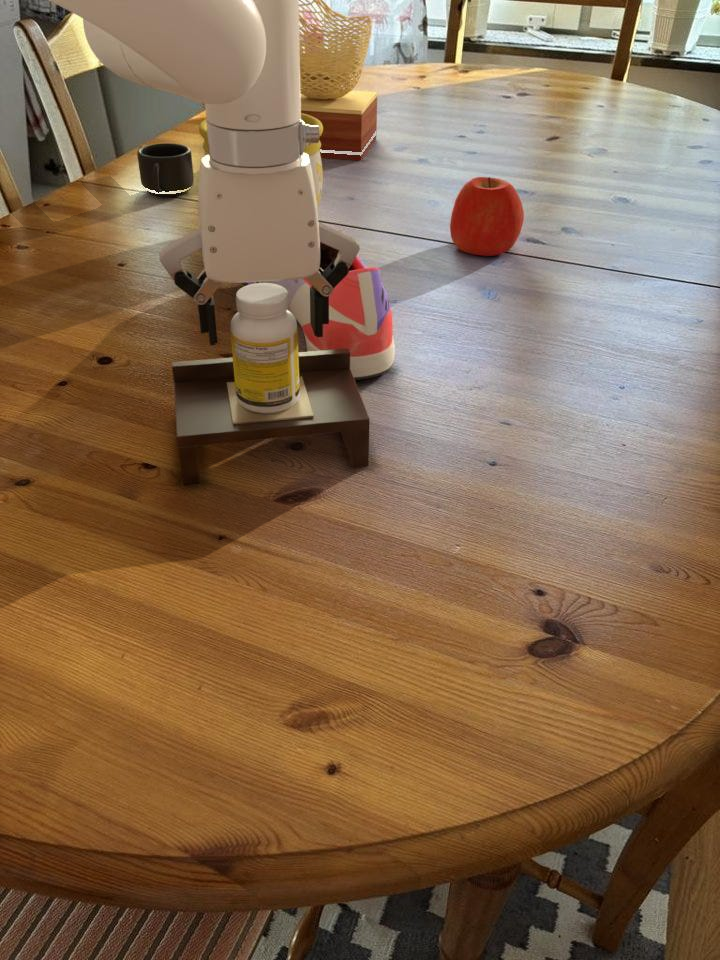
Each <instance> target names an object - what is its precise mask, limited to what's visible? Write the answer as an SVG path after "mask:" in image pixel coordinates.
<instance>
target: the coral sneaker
mask: <svg viewBox="0 0 720 960" xmlns="http://www.w3.org/2000/svg"><path fill="white" fill-rule="evenodd" d="M338 253H339V250H337V249H334V248H332V247H330V246H328V245H326V244H323V243H321V242H320V268H321V269H322V270H323V271H324V270H325V269H326V268H327V267H328V266H329V265H330V264H331V263H332V262H333V261H334V260H335V259H336V258H337V255H338ZM256 283H272V284H277V285H280V286H282V287H284V288H285V289H286V290H287V292H288V302H289V304H288V309H287V310H288V311H290V312H291V313H292V314H293V315H294V317H295V319H296V321H297V323H299V325H300V327H301V329H302V330H303V333H304V338H305V343H306V350H307V352H308V351H321V350H334V349H347V348H348V349H349V351H350V370H351V372H352V375H353V377H354V380H355V381H356V380H365V379H366V380H367V379H371V378H375V377H378V376H381V375H384V374H385V373H386V374H387V373H388V372H390V370H391V369H392V367H393V366H394V363H395V356H396V347H395V340H394V336H393V335H394V325H393V324H394V323H393V311H392V307H391V304H390V300H389V297H388V293H387V291H386V289H385V287H384V284H383V282H382V277H381V271H380V269H379V268H378V267H376V266H373V267H368V266H367V265H366V263H365V262H364V261H363V260H362V258H361V256H359V254H357V256H356V257H355V259H354V261H353V263H352V265H351V266H350V268H349V272H348V274H347V275H346V276H345V277H344V278H343V279H342V280H341V281H340V283H339V284H338V285H337V286H336V287H335V288H334V289H333V293H332V294H331V295H330V296H329V324H323V337H317V336H315V335H314V332H313V329H312V326H311V322H310V287H312V284H311V283H310V282H309V281H308V280H307V279H306V278H301V279H291V280H277V281H261V282H244V283H242V285H243V287H244V286H247V285H251V284H256Z"/></svg>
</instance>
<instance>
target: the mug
mask: <svg viewBox="0 0 720 960" xmlns="http://www.w3.org/2000/svg"><path fill="white" fill-rule="evenodd" d="M136 154H137V155H136V156H137V163H138V169H139V171H138V172H139V177H140V183H141V185H143V186H144V187H145V188H148V189H150V190H155V191H156V192H158V193H159V192H162V191H165V192H169V191H177V190H184V189H187V188H189V187H191V186H192V187H191V189H192V188H193V185H194V180H195V178H194V167H193V157H192V149H191V148H190V147H189V146H187V145H185V144H180V143H170V142H166V143H165V142H163V143H153V144H148V145H145V146H142V147H140V148H139V149H138V150H137V152H136ZM143 186H142V187H143ZM144 187H143V188H144ZM191 189H189V190H187V191H185V192H181V193H176V194H155V193H151V192H148V191H146V193H149V194H151V195H153V196H156V197H160V198H174V197H179V196H182V195H184V194H185V193H187V192H189V191H190V190H191Z"/></svg>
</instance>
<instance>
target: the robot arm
mask: <svg viewBox="0 0 720 960" xmlns="http://www.w3.org/2000/svg"><path fill="white" fill-rule="evenodd" d="M47 1H48V2H50V3H52V4H55V5H57V6H59V7H60V8H63V9H65V10H67V11H68V12H70V13H72V14H74V15H76V16H77V17H79V18H81V19H82V24H83V25H82V26H83V31H84V35H85V38H86V41H87V44H88V46H89V48H90V50H91V51H92V53H93V54H94V56H95V57H96V58H97V59H98V61H99V62H100V63H101V64H102V65H103V66H104V67H105V68H106V69H108V70H109V71H110V72H112V73H113V74H115V75H116V76H117V77H119V78H122V79H124V80H126V81H129V82H131V83H134V84H138V85H141V86H144V87H146V88H147V87H148V88H150V89H154V90H158V91H163V92H165V93H169V94H172V95H176V96H179V97H182V98H184V99H188V100H191V101H194V102H196V103H197V102H198V103H202V104H204V108H205V109H204V110H205V119H207V120H206V122H207V134H208V146H209V155H206V156H202V157H201V158H200V162H199V169H198V170H199V171H198V185H197V187H198V188H197V193H198V194H197V197H198V198H197V199H198V201H197V203H198V204H197V205H198V228H197V229H195V230H193V231H191V232H190V233H188V234H186V235H184V236H183V237H181V238H179V239H178V240H175V241H174V242H173V243H170V244H169V245H167V246H166V247H164V248H162V249H161V250H160V251H159V262H160V264H161V265H162V267H163V268H164V269H165V271H166V272H167V274H168V275H169V277H171V279H172V280H173V282H174V284H175V286H177V288H179V289H180V290H182V291H183V292H184V293H185V294H186V295H188V296H189V297H191V298H192V299H193V301H194V303H195V304H196V305H197V309H198V319H199V330H200V334H208V340H209V346H216V345H217V344H219V343H218V332H217V331H218V329H217V319H216V309H215V308H216V307H215V300H214V294H215V292H216V291H217V289H218V288H219V287H220V286H221V285H222V284H243V283H244V282H261V281H277V280H291V279H301V278H306V279H307V280H308V281H309V282H310V283H311V284H312V287H310V322H311V326H312V329H313V332H314V335H315V336H317V337H323V324H329V296H330V295H331V294H332V293H333V289H334V288H335V287H336V286H337V285H338V284H339V283H340V281H341V280H342V279H343V278H344V277H345V276H346V275H347V274H348V272H349V268H350V266H351V265H352V263H353V261H354V259H355V257H356V256H357V255H359V252H360V249H361V248H360V245H359V242H358V241H357V239H355V238H353V237H352V236H349V235H347V234H345V233H343V232H340V231H338V230H336V229H334V228H332V227H329V226H327V225H325V224H323V223H321V222H319V212H318V207H317V200H316V194H315V186H314V179H313V173H312V168H311V163H310V159H309V156H308V155H307V154H305V153H303V149H306V145H310V143H319V138H320V136H319V127H318V126H309V124H305V123H304V121H302V120H301V91H300V46H299V44H300V43H299V40H300V38H299V34H300V33H299V31H300V30H299V25H300V21H299V18H300V17H299V10H300V6H299V4H300V3H299V0H47ZM320 242H321V243H323V244H326V245H328V246H330V247H332V248H334V249H337V250H339V253H338V255H337V258H336V259H335V260H334V261H333V262H332V263H331V264H330V265H329V266H328V267H327V268H326V269H325V270H324V271H323V270H322V269H321V268H320ZM199 250H201V259H202V262H203V267H204V268H203V269H202V270H201V272H200V273H199V275H198V276H197V277H196V276H195V275H194V274H193V273H191V272H190V271H189V270H188V269H186V268H185V267H184V266H183V264H182V262H181V261H182V260H184V259H186V258H188V257H189V256H191V255H193V254H194V253H196V252H198V251H199Z"/></svg>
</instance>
